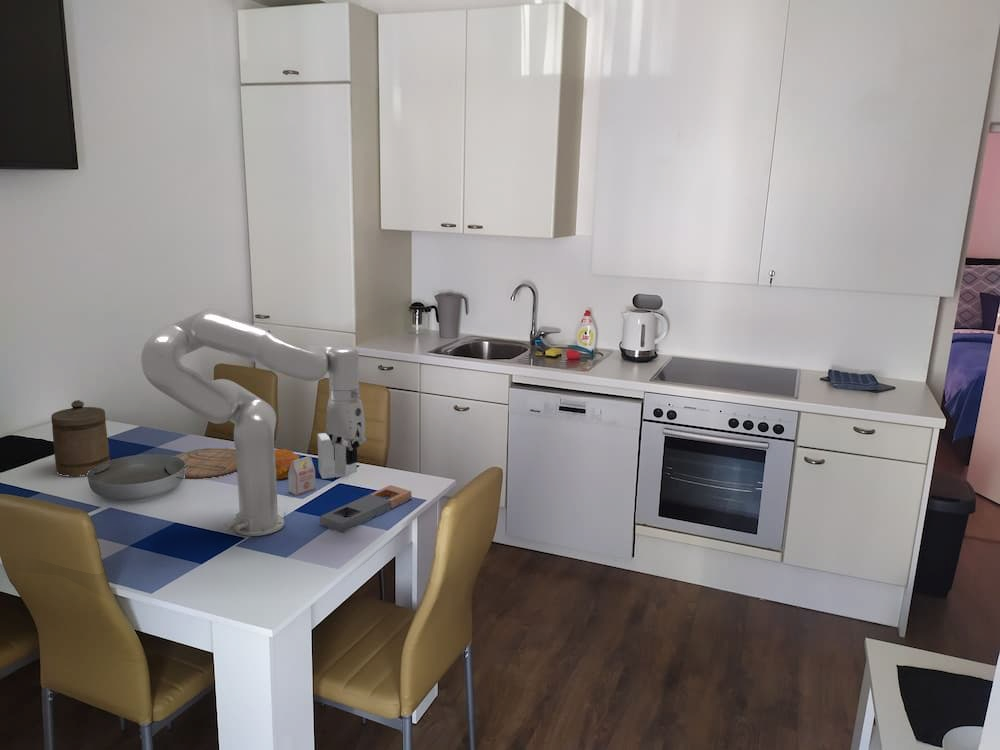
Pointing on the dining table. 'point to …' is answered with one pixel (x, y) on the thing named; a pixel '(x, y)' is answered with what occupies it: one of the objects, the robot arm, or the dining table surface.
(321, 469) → the supplement box
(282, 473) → the croissant
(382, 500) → the rail
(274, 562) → the dining table surface
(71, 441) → the wooden container
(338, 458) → the steel peg
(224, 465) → the trivet
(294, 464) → the white printed paper bag
